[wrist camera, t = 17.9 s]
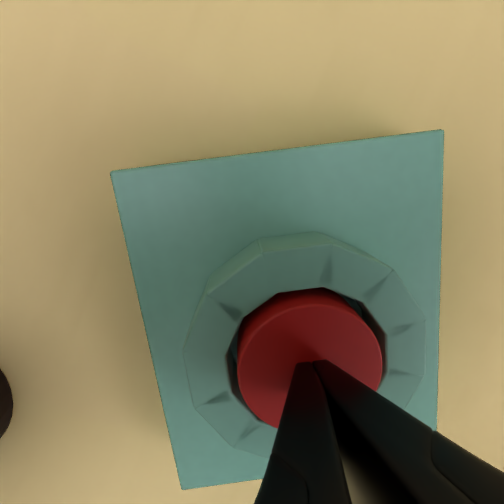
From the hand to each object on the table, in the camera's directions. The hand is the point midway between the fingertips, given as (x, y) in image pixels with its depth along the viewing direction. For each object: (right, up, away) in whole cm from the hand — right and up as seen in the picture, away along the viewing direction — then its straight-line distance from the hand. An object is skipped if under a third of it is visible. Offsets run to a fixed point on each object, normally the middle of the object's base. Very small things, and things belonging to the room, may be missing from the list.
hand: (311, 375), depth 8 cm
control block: (0, +1, +4) cm, 4 cm away
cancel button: (0, 0, +2) cm, 2 cm away
